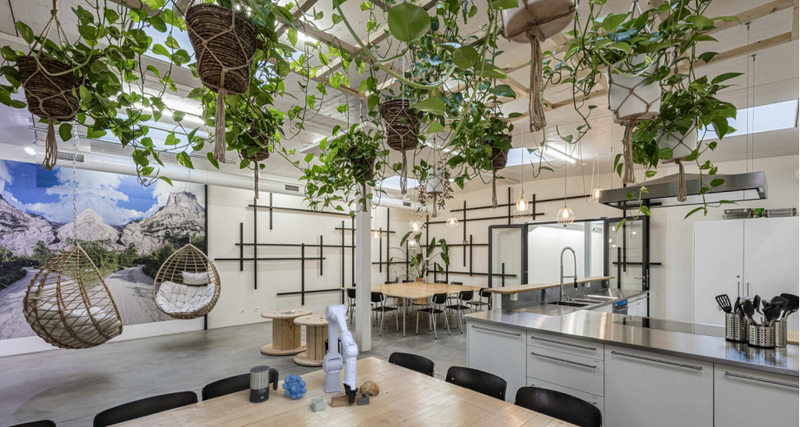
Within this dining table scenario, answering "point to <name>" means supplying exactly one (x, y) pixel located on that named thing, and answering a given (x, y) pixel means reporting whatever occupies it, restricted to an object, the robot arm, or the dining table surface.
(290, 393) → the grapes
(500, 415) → the dining table surface
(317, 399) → the sliding cap
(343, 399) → the slat
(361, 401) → the fixed cap
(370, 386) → the bread roll
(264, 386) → the milk frother
